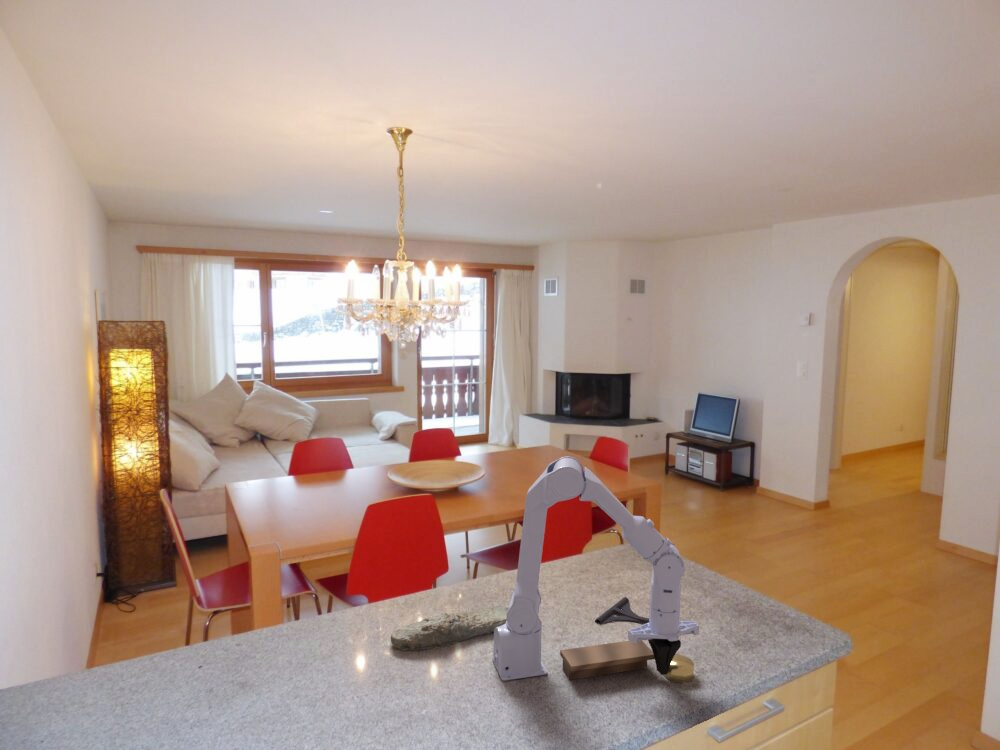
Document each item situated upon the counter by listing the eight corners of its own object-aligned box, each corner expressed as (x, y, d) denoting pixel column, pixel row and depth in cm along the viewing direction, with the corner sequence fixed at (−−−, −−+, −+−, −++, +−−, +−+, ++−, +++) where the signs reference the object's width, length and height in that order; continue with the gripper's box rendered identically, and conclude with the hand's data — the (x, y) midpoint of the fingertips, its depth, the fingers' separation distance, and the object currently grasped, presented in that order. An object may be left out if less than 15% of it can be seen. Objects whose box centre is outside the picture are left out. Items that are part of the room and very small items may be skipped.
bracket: (654, 646, 135) (655, 634, 135) (594, 624, 144) (595, 613, 144) (679, 621, 147) (680, 610, 146) (622, 602, 156) (623, 592, 155)
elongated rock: (544, 631, 143) (523, 615, 151) (545, 609, 142) (524, 593, 151) (398, 659, 127) (384, 639, 136) (399, 634, 127) (385, 615, 135)
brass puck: (672, 684, 120) (672, 672, 120) (656, 667, 126) (657, 656, 125) (699, 680, 122) (699, 668, 121) (682, 663, 127) (683, 652, 127)
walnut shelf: (570, 686, 119) (571, 666, 119) (559, 668, 125) (560, 650, 124) (654, 673, 124) (655, 654, 123) (639, 657, 130) (640, 639, 129)
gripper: (641, 620, 115) (638, 689, 116) (709, 611, 119) (705, 678, 120) (623, 602, 122) (621, 668, 123) (688, 595, 125) (685, 658, 127)
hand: (662, 671), depth 122 cm, fingers closed
